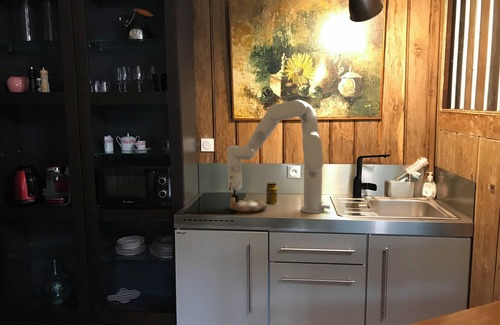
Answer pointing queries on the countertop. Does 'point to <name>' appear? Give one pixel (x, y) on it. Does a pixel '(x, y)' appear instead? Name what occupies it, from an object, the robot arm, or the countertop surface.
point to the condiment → (271, 194)
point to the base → (247, 211)
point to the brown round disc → (247, 205)
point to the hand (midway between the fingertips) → (235, 201)
